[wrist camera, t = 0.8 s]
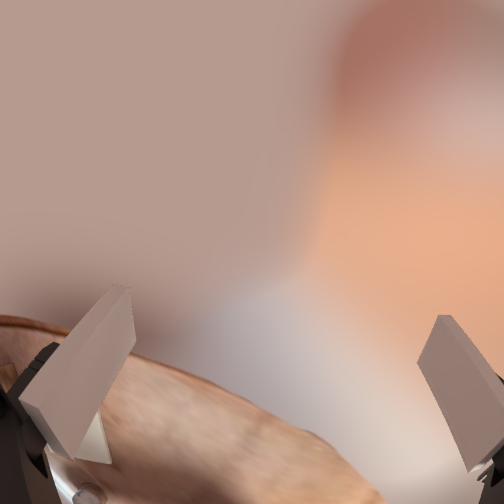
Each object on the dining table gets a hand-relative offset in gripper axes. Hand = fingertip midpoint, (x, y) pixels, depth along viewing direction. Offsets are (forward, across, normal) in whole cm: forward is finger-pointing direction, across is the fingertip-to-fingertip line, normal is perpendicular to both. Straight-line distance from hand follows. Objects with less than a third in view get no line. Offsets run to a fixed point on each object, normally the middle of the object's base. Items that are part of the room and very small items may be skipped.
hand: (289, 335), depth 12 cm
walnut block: (+16, +47, +34) cm, 60 cm away
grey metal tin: (+6, +28, +54) cm, 62 cm away
